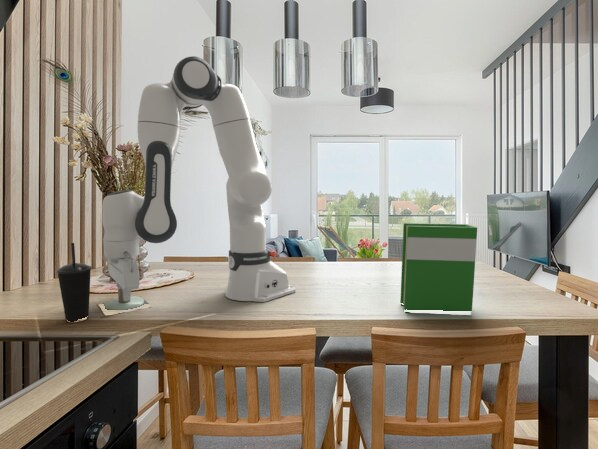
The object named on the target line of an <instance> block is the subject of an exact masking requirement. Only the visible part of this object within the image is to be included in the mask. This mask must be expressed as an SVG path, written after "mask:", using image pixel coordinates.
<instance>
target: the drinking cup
mask: <svg viewBox="0 0 598 449" xmlns="http://www.w3.org/2000/svg"><path fill="white" fill-rule="evenodd" d="M70 246H71V247H70V248H71V262H72V263H68V264H65V265H63V266H61V267H59V268H57V269H56V271H55V273H56V274H57V278H58V283H59V289H60V293H61V294H60V295H61V301H62V307H63V311H64V317H65V320H66V319H67V320H68V321H70V322H74V321H77V320H78V319H82V318H85V317H87V316H88V315H89V314H90V292H91V291H90V290H91V274H92V272H91V270H92V269H93V267H92V266H91V265H89V264H88V265H87V264H85V263H80V262H76V253H75V252H76V249H75V242H71V243H70Z"/></svg>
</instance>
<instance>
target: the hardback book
mask: <svg viewBox="0 0 598 449" xmlns="http://www.w3.org/2000/svg"><path fill="white" fill-rule="evenodd" d="M402 229H403V230H402V252H401V277H400V303H403V304H404V305H403V310H404V309H405V310H406V309H407V310H443V311H472V312H473V303H474V302H473V301H474V289H475V287H474V284H475V272H476V271H475V270H476V256H477V255H476V254H477V241H478V240H477V237H478V226H477V227H476V226H474V225H472V224H471V225H470V224H468V223H466V224H465V223H464V224H463V223H460V224H459V223H421V222H420V223H419V222H418V223H417V222H412V223H411V222H403V228H402ZM400 303H399V304H400Z"/></svg>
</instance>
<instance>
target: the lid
mask: <svg viewBox="0 0 598 449" xmlns="http://www.w3.org/2000/svg"><path fill="white" fill-rule="evenodd" d="M122 294H123V289H122V288H121V289H118V288H117V297H114V298H112V299H109V300H107V301H106V302H104V303H105V304H104V306H105V309H107V310H128V309H133V308H137V307H140V306H142V305H144V300H145V299H144V298H143V297H142V296H134V295H132V296H131V295H130V298H131V299H130V300H129V301H124V300H123V299H122ZM141 297H142V298H141Z"/></svg>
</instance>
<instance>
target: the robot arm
mask: <svg viewBox="0 0 598 449" xmlns="http://www.w3.org/2000/svg"><path fill="white" fill-rule="evenodd" d="M202 106H204V108H206V110H207V112H208V113H209V116H210V117H211V118H210V119H211V123H212V128H213V132H214V135H215V140H216V144H217V146H218V150H219V155H220V157H221V158H222V159H221V160H222V161H223V165H224V167H225V169H226V173H227V175H228V178H227V181H226V183H225V184H226V200H227V201H226V202H227V204H226V205H227V212H228V213H227V214H228V221H229V250H228V268H229V273H228V275H229V276H228V283H227V287H226V290H225V298H227V299H229V300H233V301H239V302H240V301H241V302H256V303H257V302H258V303H264V302H265V303H266V302H269V301H271V300H272V301H273V300H274V299H279V298H280V297H285V296H287V295H290V294H293V293H296V287H295V286H293V285H292V284H290V283H289V276H288V273H287V272H286V271H285V269H283V268H282V267H280V266H279V265H278V264H276V263H274V262H273V261H272V260H271V259H272V258H273V259H274V258H277V256H278V253H277V251H275V250H268V248H267V225H266V220H265V216H264V209H263V204H264V203H265V202H266V201H268V200H269V198H270V197H271V195H272V190H273V186H272V182H271V180H270V177H269V176H268V172H267V170H266V167H265V164H264V161H263V159H262V157H261V155H260V151H259V149H258V146H257V143H256V138H255V134H254V129H253V127H252V122H251V118H250V114H249V110H248V108H247V104H246V102H245V98H244V96H243V93H242V91H241V90H240V89H239V87H238V86H236V85H234V84H233V83H223V80H222V79H221V77H220V76H219V75H218V74H217V72H215V70H214V68H212V66H211V65H210V64H209V63H208V62H207V61H206V60H205V59H203V58H202V57H198V56H186V57H185V58H183V59H180V61H178V63H177V64H176V65H175V67H174V69H173V73H172V78H171V80H170V81H169V82H168V83H158V82H155V83H151V84H148V85H147V86H145V87H144V88H143V90H142V94H141V97H140V101H139V106H138V107H139V108H138V115H137V139H138V140H137V141H138V148H139V150H140V153H141V155H142V158H143V161H144V169H145V178H144V196H142V195H140V194H138V193H136V192H135V191H134V190H131V189H126V190H119V191H114V192H110V193H108V194H107V195H106V196H105V197H104V198H103V200H102V205H101V206H102V209H101V211H102V213H101V218H102V221H101V222H102V226H103V228H104V230H103V231H104V235H103V240H102V241H103V247H102V248H103V256H104V258H105V259H106V264H107V271H108V274H109V276H110V277H111V278H112V279H113V280H114V282H115V284H116V287H117V290H118V289H121V288H122V289H123V294H122V299H123V300H124V301H129V300H130V299H131V298H130V296H131V294H132V291H134V290H137V289H139V288H140V284H141V283H140V273H139V264H138V261H137V259H136V257H138V256H139V255H140V238H141V239H142V240H144V241H145V242H147V243H151V244H161V243H164V242H166V241H168V240H169V239H171V238H172V237H173V235H175V233H176V231H177V227H178V222H177V221H178V220H177V216H176V214H175V212H174V209H173V207H172V202H171V193H172V192H171V189H172V188H171V185H172V183H171V182H172V169H173V164H174V160H175V157H176V153H177V150H178V147H179V142H180V134H181V118H182V112H183V111H185V110H194V109H198V108H200V107H202ZM271 257H272V258H271Z"/></svg>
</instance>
